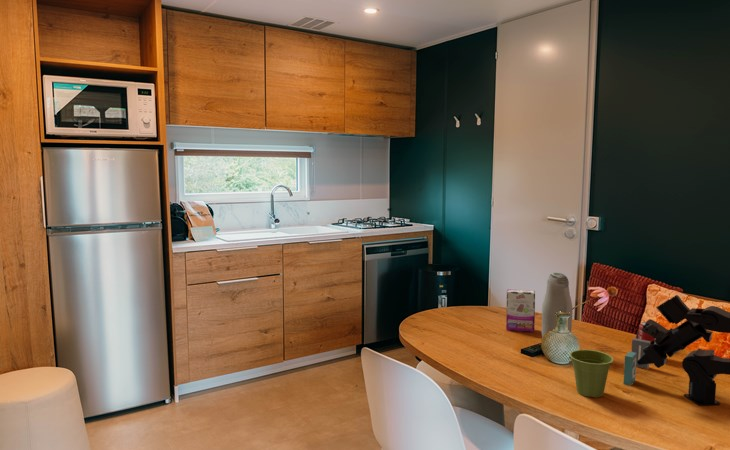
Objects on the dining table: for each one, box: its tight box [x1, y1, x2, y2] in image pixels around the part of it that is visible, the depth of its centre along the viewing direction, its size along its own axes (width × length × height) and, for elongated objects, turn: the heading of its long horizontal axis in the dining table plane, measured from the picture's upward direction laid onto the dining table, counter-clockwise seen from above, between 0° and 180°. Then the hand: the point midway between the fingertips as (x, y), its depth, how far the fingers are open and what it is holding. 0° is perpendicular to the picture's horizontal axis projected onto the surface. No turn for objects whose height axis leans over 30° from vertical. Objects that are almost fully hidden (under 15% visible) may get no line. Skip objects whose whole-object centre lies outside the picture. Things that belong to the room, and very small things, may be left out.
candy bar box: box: [505, 288, 536, 333], centre depth 213 cm, size 11×5×16 cm, turn 73°
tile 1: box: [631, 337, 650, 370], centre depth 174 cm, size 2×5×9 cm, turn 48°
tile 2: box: [623, 351, 637, 387], centre depth 161 cm, size 2×5×9 cm, turn 138°
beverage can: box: [638, 321, 656, 343], centre depth 182 cm, size 6×6×12 cm
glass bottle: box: [541, 272, 573, 339], centre depth 191 cm, size 10×10×28 cm
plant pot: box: [569, 349, 614, 398], centre depth 153 cm, size 12×12×11 cm
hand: (638, 363), depth 159 cm, fingers closed
